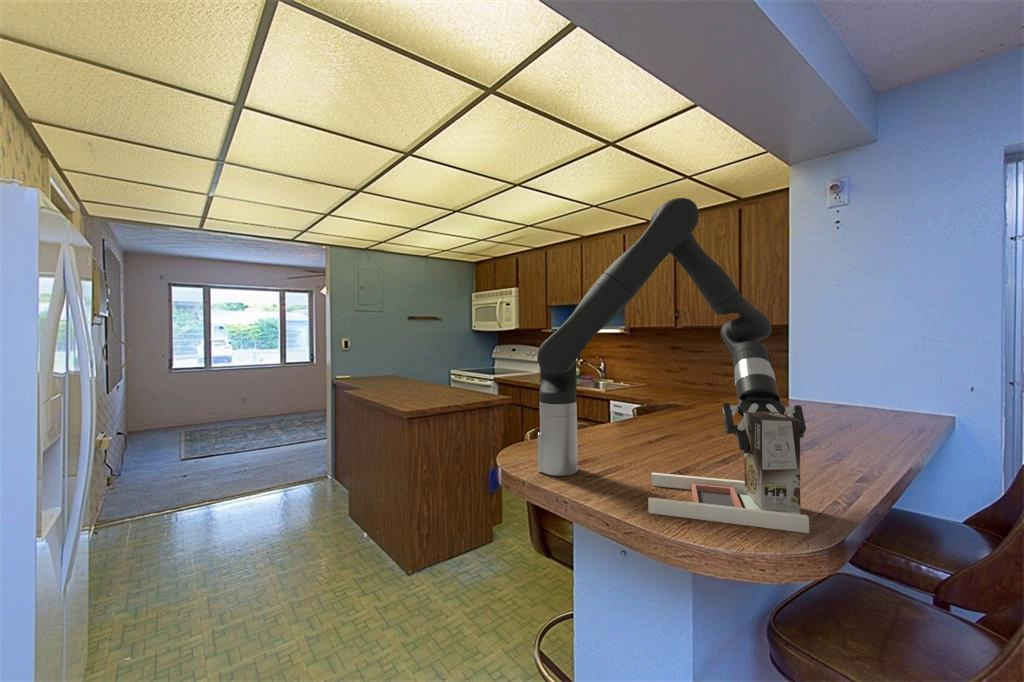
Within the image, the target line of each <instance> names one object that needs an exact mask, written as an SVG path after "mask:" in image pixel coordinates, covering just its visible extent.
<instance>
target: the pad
mask: <svg viewBox="0 0 1024 682" xmlns="http://www.w3.org/2000/svg"><path fill="white" fill-rule="evenodd" d="M739 497H740V498H739V499H740V501H741V502H742V505H743V506H744V507H743V508H748V509H757V510H764V509H762V508H761V507H760V506H759V505H758V504H757V503H756V502H755V501H754V500H753V499H752V498H751V497H750V496H749V495H742V494H740V495H739ZM766 511H775V512H784V513H793V514H801V513H800V512H791V511H779V510H766Z"/></svg>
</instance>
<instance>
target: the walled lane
mask: <svg viewBox="0 0 1024 682" xmlns="http://www.w3.org/2000/svg"><path fill="white" fill-rule="evenodd" d="M691 483H693V484H703V485H713V486H724V487H734V489H735V491H736V494H737V495H739V496H740V494H742V495H748V494H747V493H746V492H745V480H739V479H738V480H735V479H728V478H727V479H726V478H713V477H705V476H704V477H703V476H696V475H695V476H693V475H682V474H681V475H680V474H671V473H661V472H651V486H654V487H664V488H670V489H671V488H672V489H681V490H691ZM647 501H648V502H647V503H648V506H647V507H648V514H652V515H663V516H670V517H675V518H677V517H678V518H685V519H693V520H702V521H708V522H716V523H717V522H718V523H725V524H733V525H740V526H748V527H757V528H758V527H759V528H765V529H772V530H773V529H774V530H778V531H779V530H782V531H789V532H794V533H795V532H797V533H798V532H799V533H805V534H810V517H809V516H808V515H807V514H801V513H800V514H793V513H784V512H775V511H766V510H757V509H748V508H745V507H742V508H740V507H731V506H722V505H713V504H704V503H695V502H693V501H685V500H676V499H667V498H661V497H660V498H658V497H648V499H647Z"/></svg>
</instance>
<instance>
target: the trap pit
mask: <svg viewBox="0 0 1024 682" xmlns="http://www.w3.org/2000/svg"><path fill="white" fill-rule="evenodd" d="M691 496H692V502H695V503H704V504H713V505H722V506H731V507H740V508H743V506H742V505H743V504H742V503H741V500H740V498H739V496H738V494H736V491H735V489H734V487H724V486H713V485H703V484H693V483H691Z"/></svg>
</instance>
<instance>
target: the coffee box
mask: <svg viewBox="0 0 1024 682" xmlns="http://www.w3.org/2000/svg"><path fill="white" fill-rule="evenodd" d="M744 424H745V430H744V431H745V432H746V435H747V441H748V453H743V455H744V457H743V458H744V460H743V463H744V481H745V492H746V493H747V494H748V495H749V496H750V497H751V498H752V499H753V500H754V501H755V502H756V503H757V504H758V505H759V506H760V507H761V508H762V509H764V510H779V511H791V512H799V513H800V512H801V438H800V420H797V419H794V418H792V417H789V415H788V414H785V413H784V414H781V413H778V412H744Z"/></svg>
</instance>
